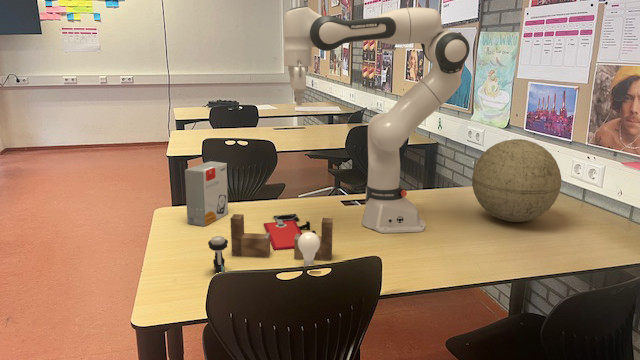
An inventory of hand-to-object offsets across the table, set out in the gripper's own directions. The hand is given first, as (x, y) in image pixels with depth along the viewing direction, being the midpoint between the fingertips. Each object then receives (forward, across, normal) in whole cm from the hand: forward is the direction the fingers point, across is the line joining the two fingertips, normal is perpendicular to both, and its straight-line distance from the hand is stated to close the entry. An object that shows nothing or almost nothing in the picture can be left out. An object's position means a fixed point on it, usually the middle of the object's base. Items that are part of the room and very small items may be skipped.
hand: (298, 103), depth 158 cm
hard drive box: (+43, +11, +32) cm, 55 cm away
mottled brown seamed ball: (+44, +1, -79) cm, 90 cm away
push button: (+43, -32, +25) cm, 59 cm away
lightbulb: (+43, -33, 0) cm, 55 cm away
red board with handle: (+44, -4, +4) cm, 44 cm away
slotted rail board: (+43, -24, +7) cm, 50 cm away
